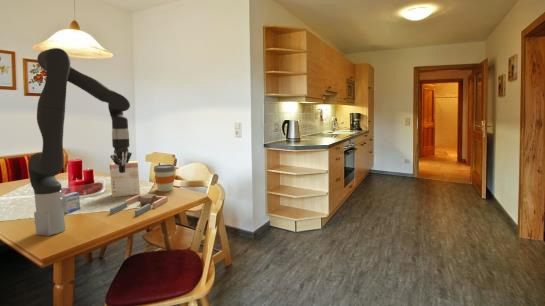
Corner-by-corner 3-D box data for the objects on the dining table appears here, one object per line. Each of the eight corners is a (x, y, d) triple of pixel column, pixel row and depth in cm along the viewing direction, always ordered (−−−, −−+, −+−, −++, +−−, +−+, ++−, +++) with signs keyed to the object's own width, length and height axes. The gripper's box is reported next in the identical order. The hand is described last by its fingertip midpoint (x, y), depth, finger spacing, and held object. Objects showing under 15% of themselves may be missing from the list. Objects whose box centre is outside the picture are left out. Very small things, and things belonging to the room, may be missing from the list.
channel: (137, 215, 150) (137, 210, 149) (110, 213, 152) (109, 208, 152) (150, 208, 160) (150, 203, 160) (124, 206, 163) (124, 202, 163)
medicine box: (68, 213, 152) (66, 196, 151) (60, 213, 153) (58, 196, 152) (80, 208, 160) (79, 192, 159) (73, 208, 161) (71, 191, 160)
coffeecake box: (139, 191, 193) (137, 160, 190) (140, 194, 186) (138, 162, 183) (112, 194, 187) (110, 162, 184) (111, 197, 180) (109, 164, 177)
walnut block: (150, 205, 167) (150, 197, 166) (140, 204, 168) (140, 197, 167) (156, 201, 173) (156, 194, 172) (146, 201, 174) (145, 194, 173)
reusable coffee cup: (151, 189, 197) (149, 166, 195) (168, 186, 206) (167, 163, 204) (161, 193, 189) (160, 169, 187) (179, 189, 198) (178, 166, 196)
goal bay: (155, 207, 161) (155, 203, 161) (124, 205, 165) (123, 201, 165) (167, 200, 174) (167, 196, 173) (138, 199, 177) (138, 194, 177)
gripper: (118, 139, 146) (119, 175, 148) (136, 137, 159) (137, 170, 161) (104, 138, 148) (106, 174, 150) (123, 136, 161) (124, 169, 163)
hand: (122, 172), depth 155 cm, fingers closed
